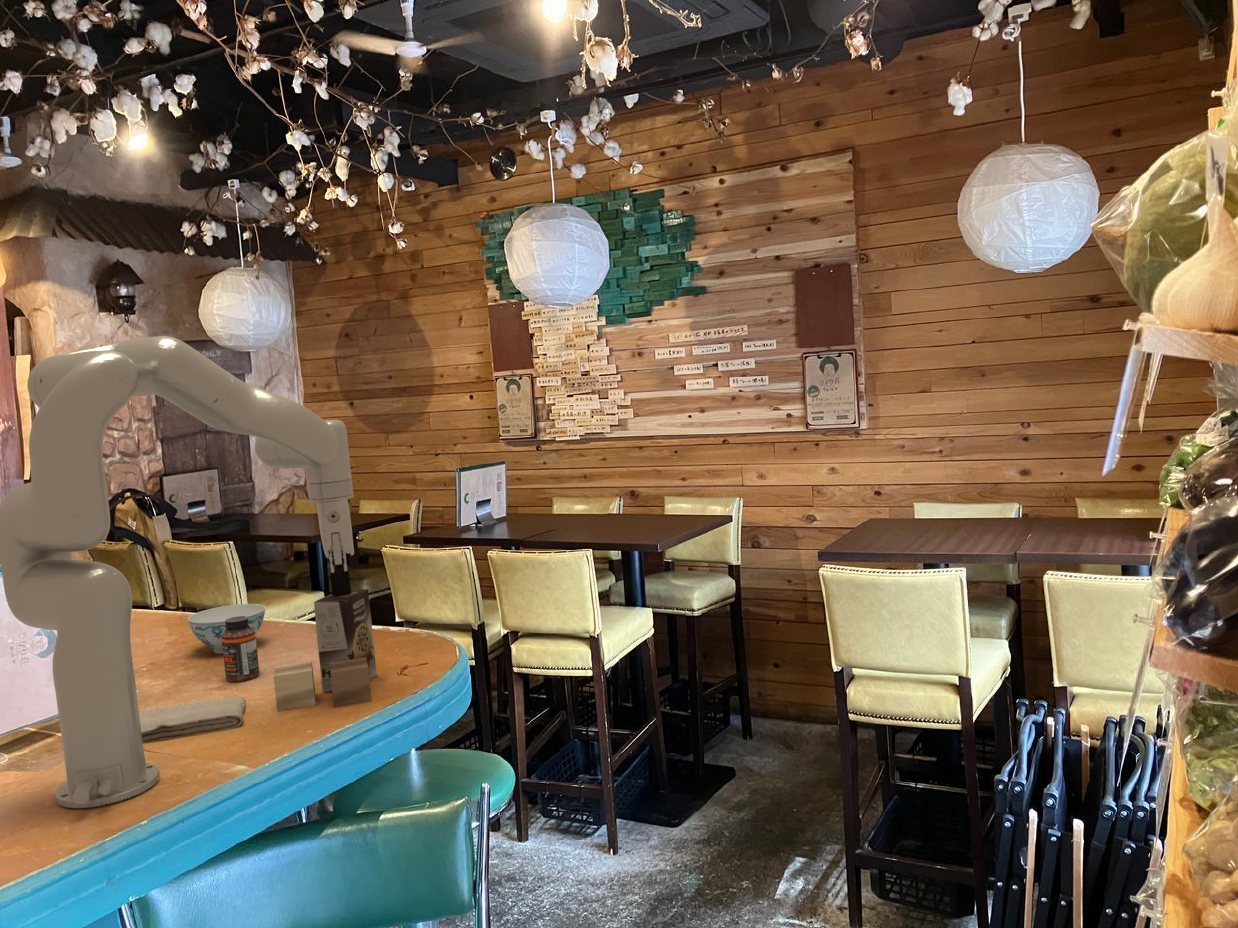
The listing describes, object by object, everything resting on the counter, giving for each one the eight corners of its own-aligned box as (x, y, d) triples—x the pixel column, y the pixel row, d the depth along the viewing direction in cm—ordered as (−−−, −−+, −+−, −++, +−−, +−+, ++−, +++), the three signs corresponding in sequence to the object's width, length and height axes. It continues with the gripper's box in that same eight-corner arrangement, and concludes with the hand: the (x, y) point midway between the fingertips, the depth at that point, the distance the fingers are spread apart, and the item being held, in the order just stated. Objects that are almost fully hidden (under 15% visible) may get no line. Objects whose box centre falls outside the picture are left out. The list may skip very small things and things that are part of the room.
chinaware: (192, 646, 209) (188, 611, 208) (266, 634, 215) (262, 600, 214) (191, 664, 195) (187, 626, 194) (271, 650, 201) (267, 613, 200)
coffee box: (355, 692, 169) (346, 600, 168) (321, 692, 170) (311, 601, 169) (378, 675, 178) (369, 588, 176) (346, 675, 179) (336, 589, 178)
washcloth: (132, 725, 162) (130, 707, 162) (248, 706, 167) (246, 689, 167) (119, 750, 151) (117, 731, 150) (243, 729, 156) (241, 710, 156)
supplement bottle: (218, 681, 182) (211, 621, 181) (244, 671, 187) (237, 613, 186) (241, 683, 179) (234, 623, 178) (266, 673, 184) (260, 614, 183)
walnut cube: (371, 701, 164) (367, 666, 163) (334, 707, 162) (330, 672, 161) (369, 691, 169) (366, 657, 169) (333, 696, 168) (330, 662, 167)
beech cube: (315, 705, 164) (311, 670, 163) (277, 711, 162) (273, 676, 162) (315, 694, 170) (311, 660, 169) (279, 700, 168) (275, 666, 167)
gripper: (354, 493, 165) (365, 599, 167) (351, 484, 179) (361, 583, 181) (307, 498, 163) (319, 606, 165) (308, 489, 177) (319, 589, 179)
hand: (341, 593), depth 173 cm, fingers closed
